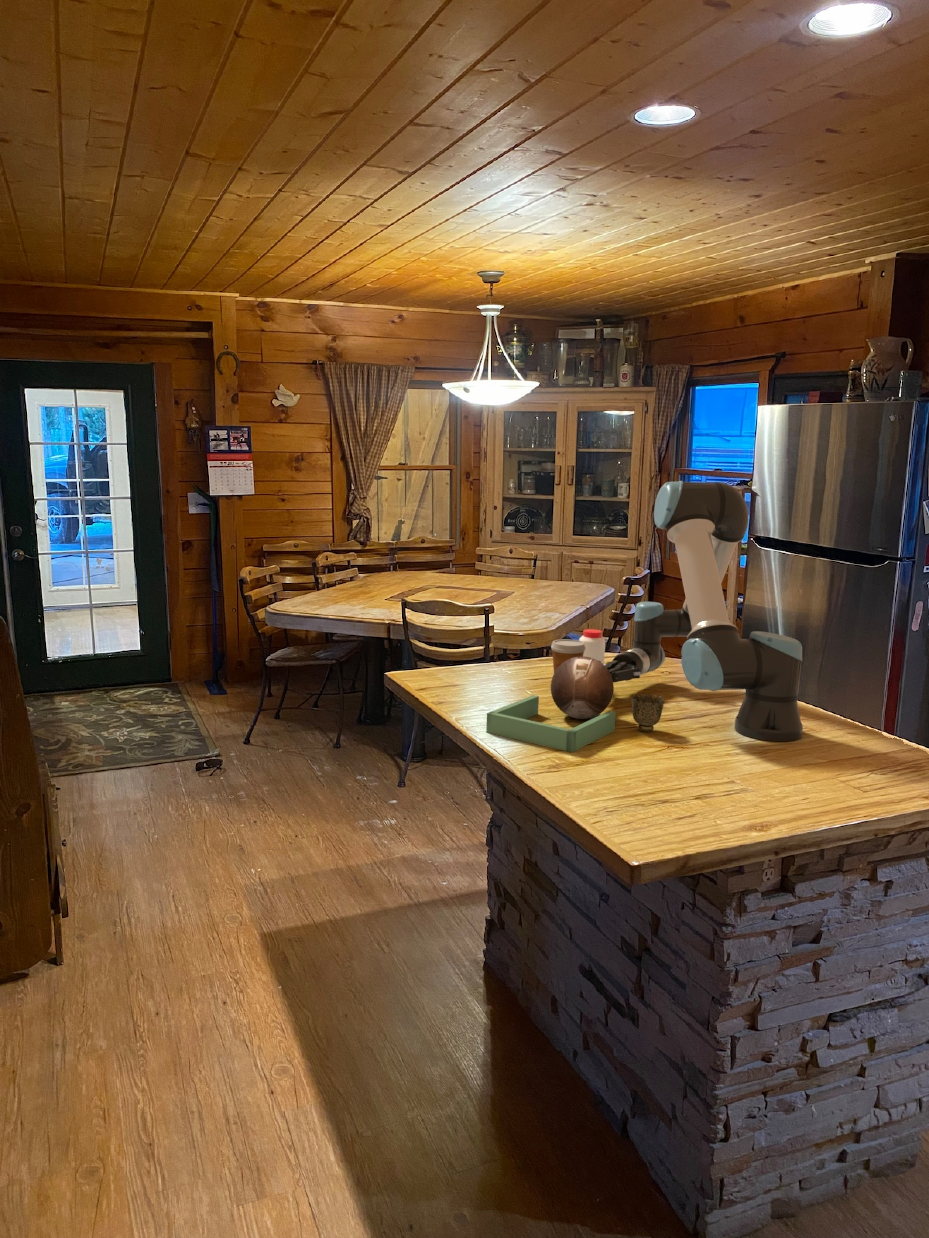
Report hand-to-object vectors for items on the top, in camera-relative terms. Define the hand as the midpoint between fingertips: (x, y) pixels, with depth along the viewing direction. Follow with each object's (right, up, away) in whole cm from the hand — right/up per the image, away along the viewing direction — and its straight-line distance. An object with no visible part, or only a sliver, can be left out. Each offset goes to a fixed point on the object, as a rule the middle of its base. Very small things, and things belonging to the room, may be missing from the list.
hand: (588, 680), depth 228 cm
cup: (+11, -11, -15) cm, 21 cm away
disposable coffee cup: (-3, -3, +25) cm, 25 cm away
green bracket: (-11, -10, -17) cm, 23 cm away
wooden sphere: (-3, -9, -6) cm, 11 cm away
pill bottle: (+7, +1, +47) cm, 48 cm away
